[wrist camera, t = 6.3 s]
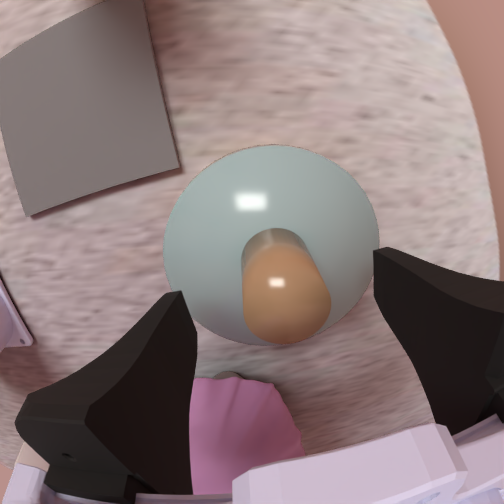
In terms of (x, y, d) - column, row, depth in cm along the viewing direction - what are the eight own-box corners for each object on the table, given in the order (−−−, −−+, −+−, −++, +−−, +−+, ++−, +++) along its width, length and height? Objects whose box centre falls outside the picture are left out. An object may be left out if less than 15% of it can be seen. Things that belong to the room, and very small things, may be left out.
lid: (209, 352, 16) (204, 419, 12) (134, 185, 12) (92, 220, 8) (380, 305, 16) (416, 361, 12) (352, 121, 12) (404, 128, 8)
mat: (29, 214, 16) (26, 217, 15) (-6, 65, 12) (-9, 65, 11) (180, 166, 15) (179, 167, 15) (141, -10, 11) (139, -13, 11)
